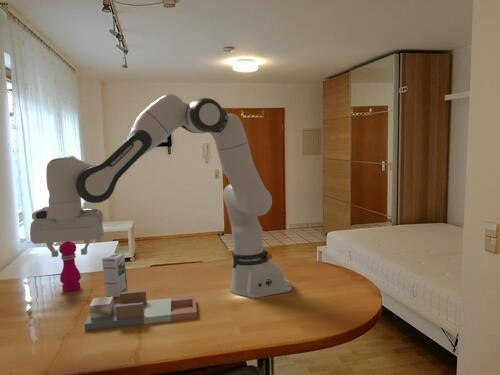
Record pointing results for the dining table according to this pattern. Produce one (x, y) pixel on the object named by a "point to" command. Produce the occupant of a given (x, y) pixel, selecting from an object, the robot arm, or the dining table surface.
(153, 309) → the board
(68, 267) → the pepper mill
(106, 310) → the birch block
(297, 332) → the dining table surface
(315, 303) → the dining table surface
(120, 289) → the syrup box
